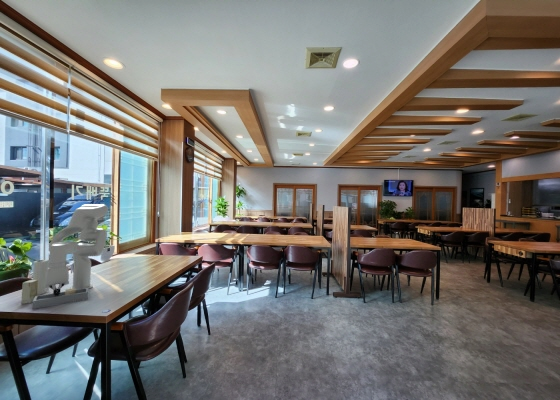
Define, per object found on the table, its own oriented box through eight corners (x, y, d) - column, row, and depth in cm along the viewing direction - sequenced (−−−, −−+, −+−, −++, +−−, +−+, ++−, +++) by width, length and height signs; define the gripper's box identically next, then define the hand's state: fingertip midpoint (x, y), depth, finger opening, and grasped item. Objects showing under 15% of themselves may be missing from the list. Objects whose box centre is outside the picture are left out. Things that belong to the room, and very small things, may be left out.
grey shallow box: (35, 303, 141) (35, 295, 141) (87, 294, 156) (87, 287, 156) (32, 309, 133) (32, 301, 133) (87, 299, 148) (88, 291, 148)
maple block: (65, 295, 147) (65, 289, 147) (75, 294, 149) (75, 287, 150) (64, 298, 143) (65, 291, 143) (74, 296, 146) (75, 289, 146)
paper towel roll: (30, 296, 152) (32, 262, 153) (33, 293, 157) (35, 260, 158) (46, 294, 156) (47, 260, 157) (48, 291, 161) (50, 259, 162)
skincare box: (30, 303, 141) (31, 282, 141) (20, 304, 140) (21, 282, 140) (37, 299, 147) (38, 279, 147) (28, 300, 146) (29, 279, 146)
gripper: (74, 261, 151) (73, 291, 151) (41, 265, 142) (39, 296, 141) (74, 264, 145) (73, 294, 145) (39, 268, 136) (38, 300, 136)
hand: (56, 295), depth 143 cm, fingers closed
